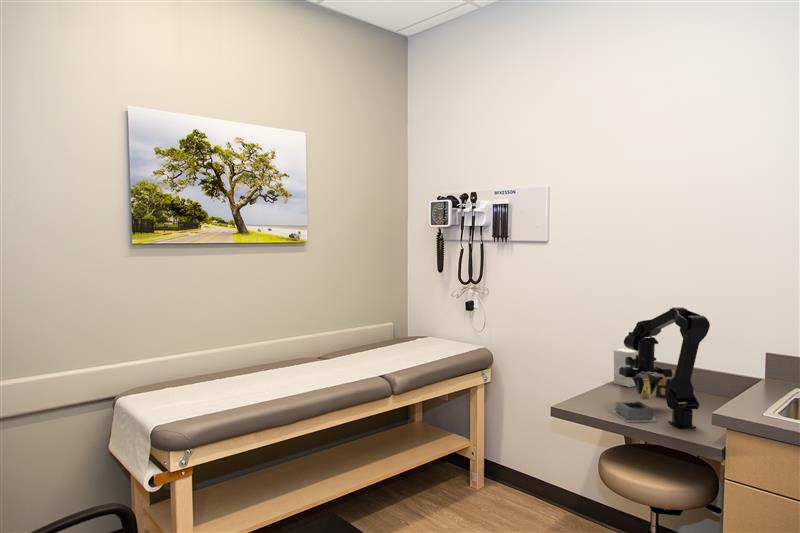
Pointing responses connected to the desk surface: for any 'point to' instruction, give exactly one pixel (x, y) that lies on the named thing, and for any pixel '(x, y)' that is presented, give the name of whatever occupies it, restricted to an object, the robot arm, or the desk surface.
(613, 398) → the desk surface
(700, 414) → the desk surface
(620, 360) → the skincare box
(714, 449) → the desk surface
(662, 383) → the ammunition clip
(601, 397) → the desk surface
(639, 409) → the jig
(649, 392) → the bushing
